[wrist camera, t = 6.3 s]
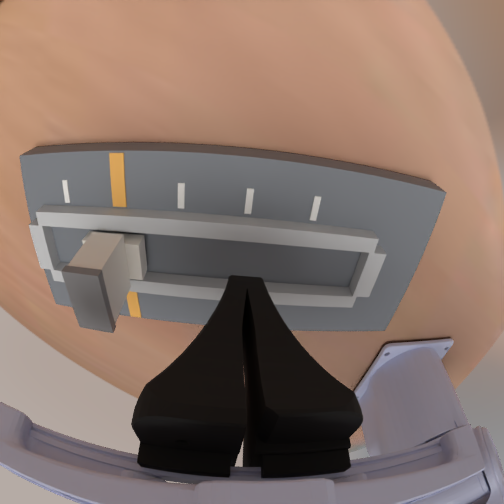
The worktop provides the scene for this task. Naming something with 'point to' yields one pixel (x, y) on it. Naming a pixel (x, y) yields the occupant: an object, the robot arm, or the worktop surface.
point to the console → (236, 227)
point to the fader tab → (103, 277)
